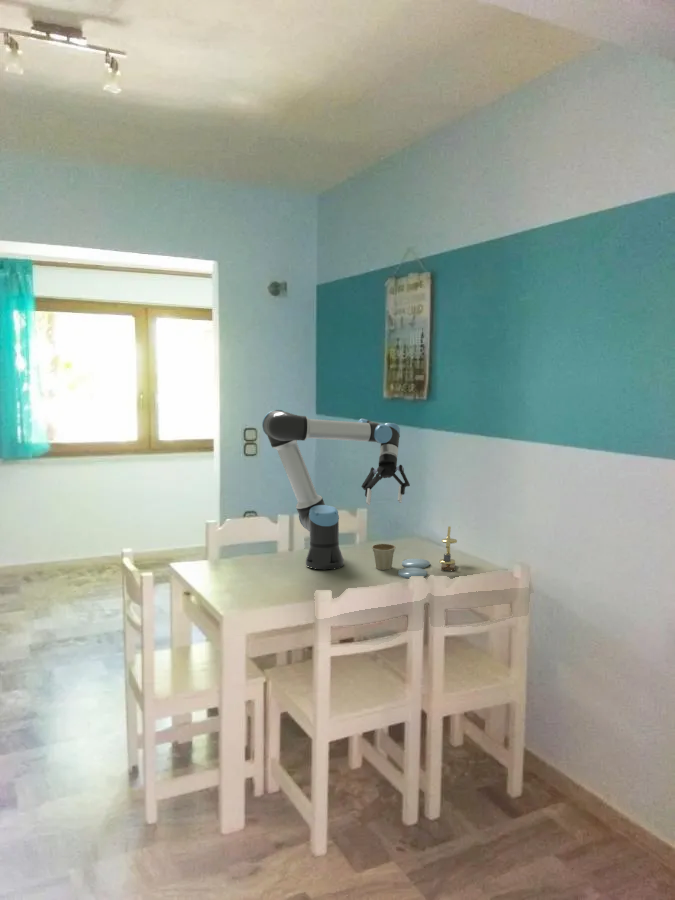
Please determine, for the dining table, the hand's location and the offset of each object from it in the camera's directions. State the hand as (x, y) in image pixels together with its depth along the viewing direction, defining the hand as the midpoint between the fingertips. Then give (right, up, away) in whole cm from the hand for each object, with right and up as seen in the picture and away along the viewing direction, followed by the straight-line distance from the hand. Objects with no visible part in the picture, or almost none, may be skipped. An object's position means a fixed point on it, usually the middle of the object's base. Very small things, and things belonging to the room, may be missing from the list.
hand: (383, 502), depth 280 cm
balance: (+25, -25, -7) cm, 36 cm away
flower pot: (0, -26, -6) cm, 26 cm away
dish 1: (+10, -26, -15) cm, 32 cm away
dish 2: (+13, -25, -2) cm, 28 cm away
